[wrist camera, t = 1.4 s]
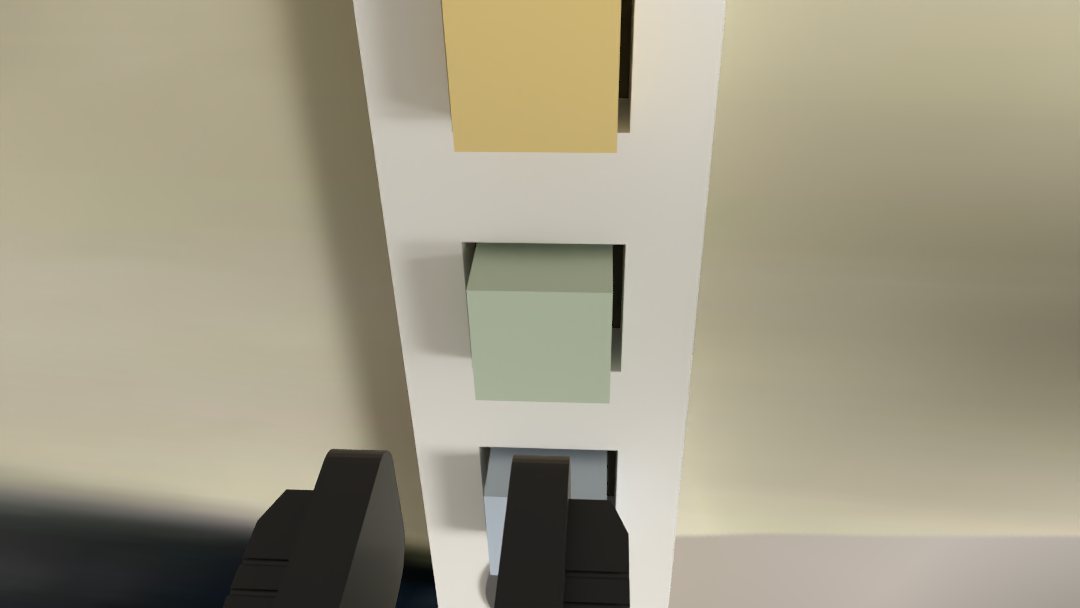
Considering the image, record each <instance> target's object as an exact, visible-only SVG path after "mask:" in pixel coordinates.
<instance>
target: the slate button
mask: <svg viewBox="0 0 1080 608" xmlns="http://www.w3.org/2000/svg"><path fill="white" fill-rule="evenodd" d="M513 455H546V456H570V459H571V499H591V500H607V450H582V449H547V448H512V447H491V451H490V458H489V465H488V472H487V478H486V485H485V492H484V505H485V517H486V529H487V541H488V552H489V564H490V575H498V571H499V562H500V554H501V546H502V538H503V530H504V521H505V513H506V505H507V497H508V489H509V480H510V472H511V464H512V458H513Z"/></svg>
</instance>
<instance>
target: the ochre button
mask: <svg viewBox="0 0 1080 608" xmlns="http://www.w3.org/2000/svg"><path fill="white" fill-rule="evenodd" d="M442 10H443V22H444V34H445V46H446V58H447V69H448V81H449V93H450V105H451V116H452V128H453V140H454V152H555V153H617V130H618V95H619V60H620V26H621V0H442Z"/></svg>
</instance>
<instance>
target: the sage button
mask: <svg viewBox="0 0 1080 608" xmlns="http://www.w3.org/2000/svg"><path fill="white" fill-rule="evenodd" d="M466 293H467V305H468V317H469V329H470V340H471V352H472V364H473V376H474V387H475V399H476V400H489V401H528V402H568V403H607V404H610V372H611V337H612V303H613V244H557V243H487V242H477V245H476V249H475V254H474V258H473V263H472V267H471V272H470V276H469V281H468V285H467V289H466Z"/></svg>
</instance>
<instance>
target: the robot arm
mask: <svg viewBox="0 0 1080 608" xmlns="http://www.w3.org/2000/svg"><path fill="white" fill-rule="evenodd" d="M404 551H405V535H404V526H403V519H402V513H401V507H400V501H399V495H398V489H397V483H396V477H395V470H394V464H393V459H392V456H391V453H390V452H389V451H380V450H346V449H331V450H330V451H329V452H328V453H327V455H326V457H325V460H324V462H323V465H322V468H321V471H320V474H319V476H318V479H317V482H316V485H315V488H314V490H287V489H286V491H285V492H284V493H283V494H282V495H281V496H280V497H279V498H278V499H277V500H276V501H275V502H274V504H273V505H272V506H271V507H270V508H269V509H268V510H267V511H266V512H265V513H264V514H263V515H262V517H261V518H260V519H259V520H258V521H257V523H256V526H255V528H254V531H253V533H252V536H251V538H250V541H249V543H248V545H247V548H246V550H245V553H244V555H243V563H242V565H239V568H238V570H237V573H236V575H235V578H234V580H233V583H232V585H231V588H230V589H231V592H230V595H229V596H227V597H226V600H225V602H224V605H223V607H222V608H395V604H396V600H397V596H398V591H399V587H400V582H401V577H402V572H403V564H404ZM494 608H630V580H629V534H628V532H627V530H626V528H625V526H624V524H623V522H622V520H621V518H620V516H619V514H618V513H617V511H616V509H615V507H614V505H613V503H612V501H611V500H591V499H571V459H570V456H546V455H513V458H512V464H511V472H510V480H509V489H508V497H507V505H506V513H505V521H504V530H503V538H502V546H501V554H500V562H499V571H498V579H497V587H496V595H495V603H494Z"/></svg>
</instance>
